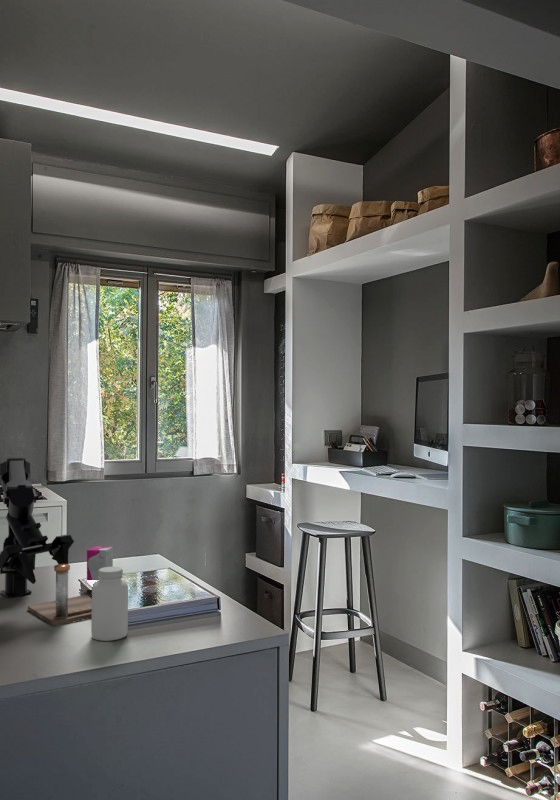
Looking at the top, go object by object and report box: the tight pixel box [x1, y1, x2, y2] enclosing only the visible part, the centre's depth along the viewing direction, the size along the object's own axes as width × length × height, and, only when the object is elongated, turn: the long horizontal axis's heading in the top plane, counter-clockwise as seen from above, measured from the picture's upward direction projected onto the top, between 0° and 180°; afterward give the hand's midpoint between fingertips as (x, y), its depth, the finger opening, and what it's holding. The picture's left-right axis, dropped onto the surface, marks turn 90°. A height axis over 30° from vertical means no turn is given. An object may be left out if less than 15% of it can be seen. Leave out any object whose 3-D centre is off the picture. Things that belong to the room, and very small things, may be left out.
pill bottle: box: [90, 566, 129, 642], centre depth 149 cm, size 8×8×15 cm
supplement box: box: [86, 546, 114, 581], centre depth 188 cm, size 6×6×12 cm
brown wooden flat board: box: [27, 594, 92, 627], centre depth 166 cm, size 16×16×1 cm
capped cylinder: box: [53, 563, 71, 620], centre depth 159 cm, size 4×4×13 cm
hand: (51, 578), depth 161 cm, fingers open, 9 cm apart
